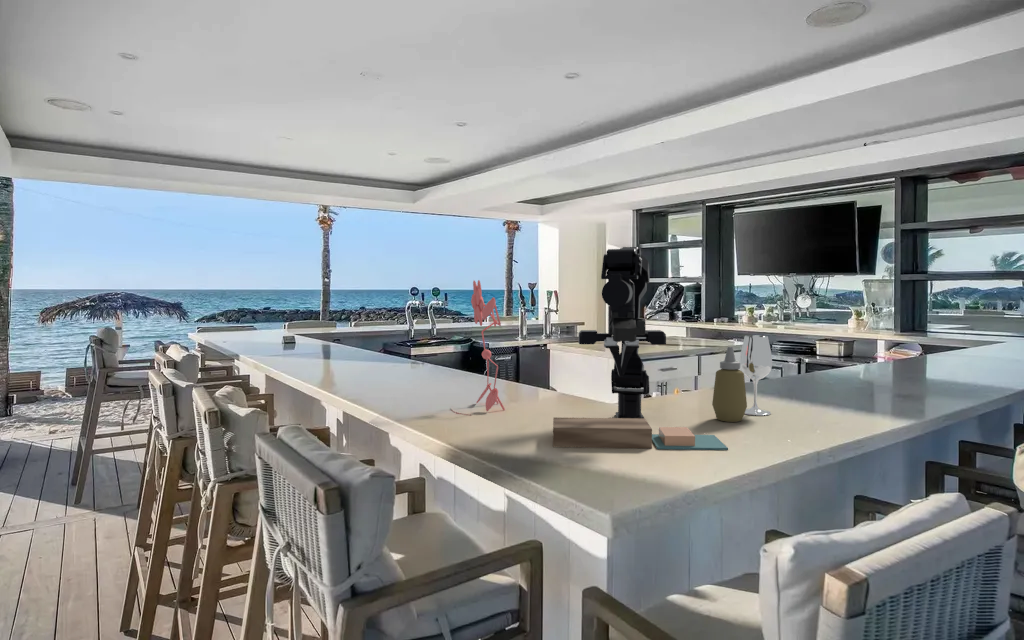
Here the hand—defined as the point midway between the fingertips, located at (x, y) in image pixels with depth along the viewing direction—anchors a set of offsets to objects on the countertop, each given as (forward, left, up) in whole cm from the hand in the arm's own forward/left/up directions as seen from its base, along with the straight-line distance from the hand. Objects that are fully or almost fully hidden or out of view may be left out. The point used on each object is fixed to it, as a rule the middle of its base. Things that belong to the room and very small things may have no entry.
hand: (621, 376), depth 136 cm
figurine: (-28, -36, -13) cm, 47 cm away
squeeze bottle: (-16, +28, -13) cm, 35 cm away
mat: (+7, +13, -13) cm, 20 cm away
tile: (+7, +11, -11) cm, 17 cm away
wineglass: (-25, +37, -13) cm, 47 cm away
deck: (+7, -5, -13) cm, 16 cm away
